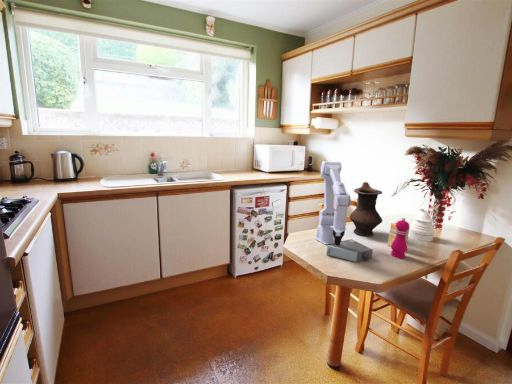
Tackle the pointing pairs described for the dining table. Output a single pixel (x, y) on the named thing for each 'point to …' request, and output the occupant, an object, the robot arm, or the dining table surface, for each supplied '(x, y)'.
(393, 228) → the supplement box
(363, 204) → the jug
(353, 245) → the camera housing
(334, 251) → the side door
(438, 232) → the dining table surface
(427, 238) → the honey pot
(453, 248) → the dining table surface
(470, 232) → the dining table surface
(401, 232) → the pepper mill
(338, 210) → the robot arm
